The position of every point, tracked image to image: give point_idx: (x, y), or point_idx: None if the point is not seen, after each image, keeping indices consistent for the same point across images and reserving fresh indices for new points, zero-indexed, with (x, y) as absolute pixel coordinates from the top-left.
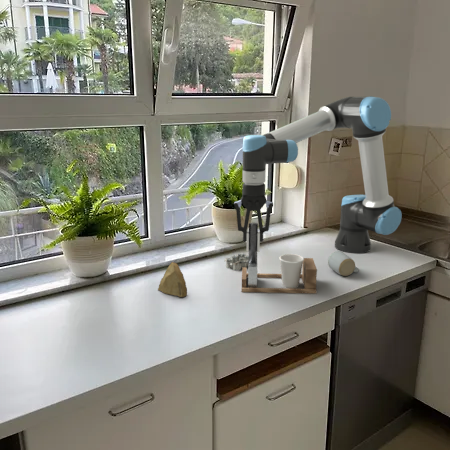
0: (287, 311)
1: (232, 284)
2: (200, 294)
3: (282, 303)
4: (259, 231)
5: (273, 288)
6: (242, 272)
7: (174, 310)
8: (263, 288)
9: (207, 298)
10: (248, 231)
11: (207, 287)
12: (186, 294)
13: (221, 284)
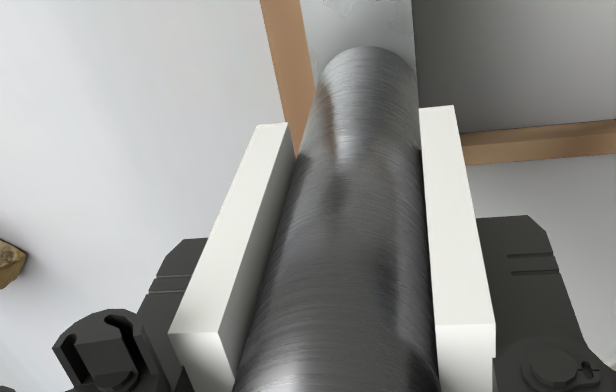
0: (603, 350)
1: (219, 50)
2: (85, 225)
3: (589, 277)
4: (488, 343)
5: (552, 144)
6: (272, 40)
7: (62, 372)
8: (472, 155)
9: (145, 264)
10: (218, 361)
11: (73, 129)
12: (21, 259)
13: (140, 64)
